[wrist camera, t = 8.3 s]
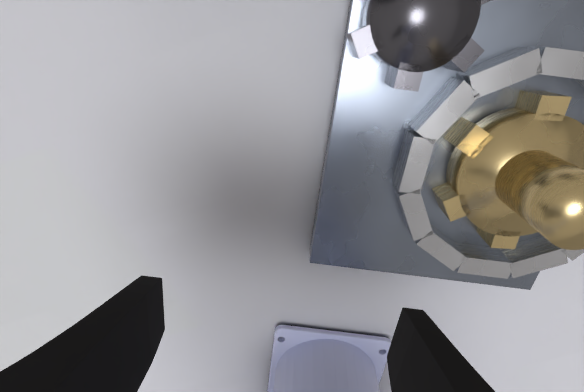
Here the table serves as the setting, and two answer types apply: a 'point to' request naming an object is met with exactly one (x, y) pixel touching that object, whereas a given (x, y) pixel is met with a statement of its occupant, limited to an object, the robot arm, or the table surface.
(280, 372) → the robot arm
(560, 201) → the planet gear
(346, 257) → the carrier plate
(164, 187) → the table surface
